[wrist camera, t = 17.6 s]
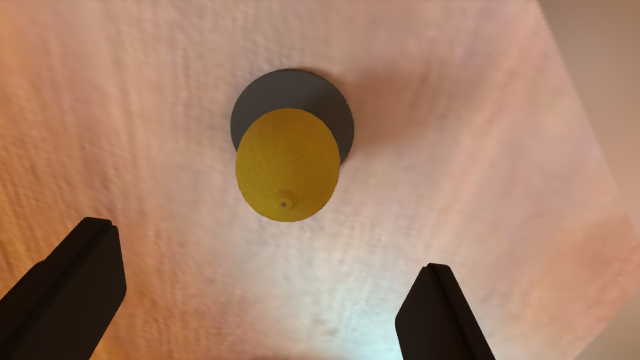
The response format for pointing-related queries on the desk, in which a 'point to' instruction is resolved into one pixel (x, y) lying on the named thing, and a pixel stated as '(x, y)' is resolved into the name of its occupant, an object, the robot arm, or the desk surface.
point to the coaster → (294, 104)
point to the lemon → (287, 165)
